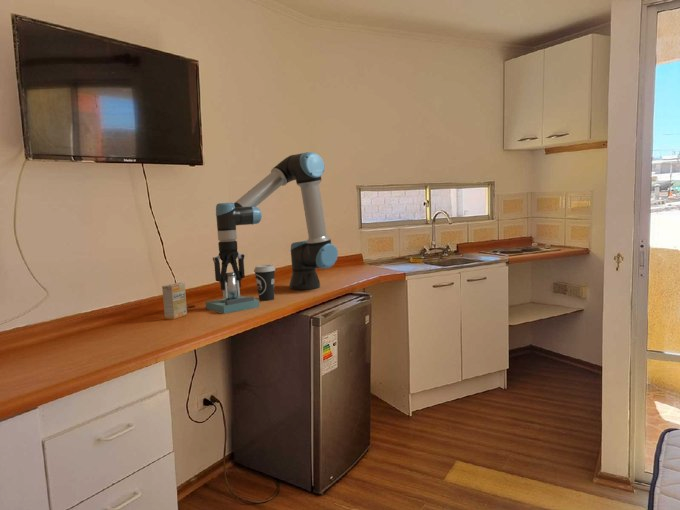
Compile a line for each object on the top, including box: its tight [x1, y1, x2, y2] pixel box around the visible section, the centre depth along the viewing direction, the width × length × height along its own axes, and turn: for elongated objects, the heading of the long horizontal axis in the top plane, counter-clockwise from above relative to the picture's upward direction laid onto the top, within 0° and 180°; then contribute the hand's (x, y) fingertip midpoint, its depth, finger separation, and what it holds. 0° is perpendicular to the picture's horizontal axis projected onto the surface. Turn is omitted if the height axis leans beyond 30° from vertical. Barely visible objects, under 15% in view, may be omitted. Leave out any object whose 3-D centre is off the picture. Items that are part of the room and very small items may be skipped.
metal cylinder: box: [225, 271, 238, 301], centre depth 215 cm, size 5×5×12 cm
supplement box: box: [161, 282, 188, 320], centre depth 203 cm, size 8×5×13 cm, turn 160°
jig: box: [205, 295, 260, 314], centre depth 216 cm, size 16×16×5 cm
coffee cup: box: [253, 264, 276, 302], centre depth 231 cm, size 10×10×15 cm
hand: (231, 296), depth 216 cm, fingers closed on metal cylinder, 5 cm apart
